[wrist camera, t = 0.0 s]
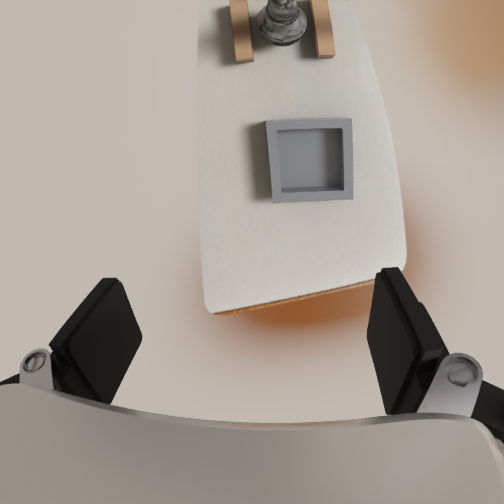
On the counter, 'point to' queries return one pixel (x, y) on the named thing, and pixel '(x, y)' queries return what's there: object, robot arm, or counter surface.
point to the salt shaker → (282, 22)
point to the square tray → (310, 159)
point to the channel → (244, 39)
